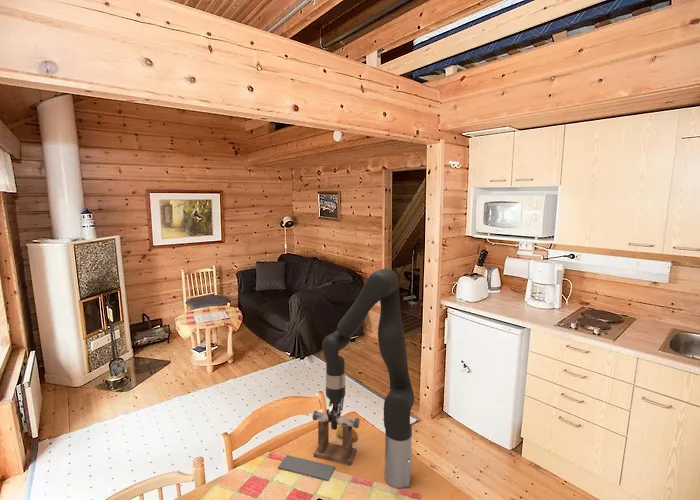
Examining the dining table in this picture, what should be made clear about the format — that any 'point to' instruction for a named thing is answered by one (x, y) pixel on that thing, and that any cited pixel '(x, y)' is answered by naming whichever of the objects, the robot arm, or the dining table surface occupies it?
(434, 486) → the dining table surface
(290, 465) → the mat
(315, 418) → the capped glass tube
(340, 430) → the pastry
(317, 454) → the rack
